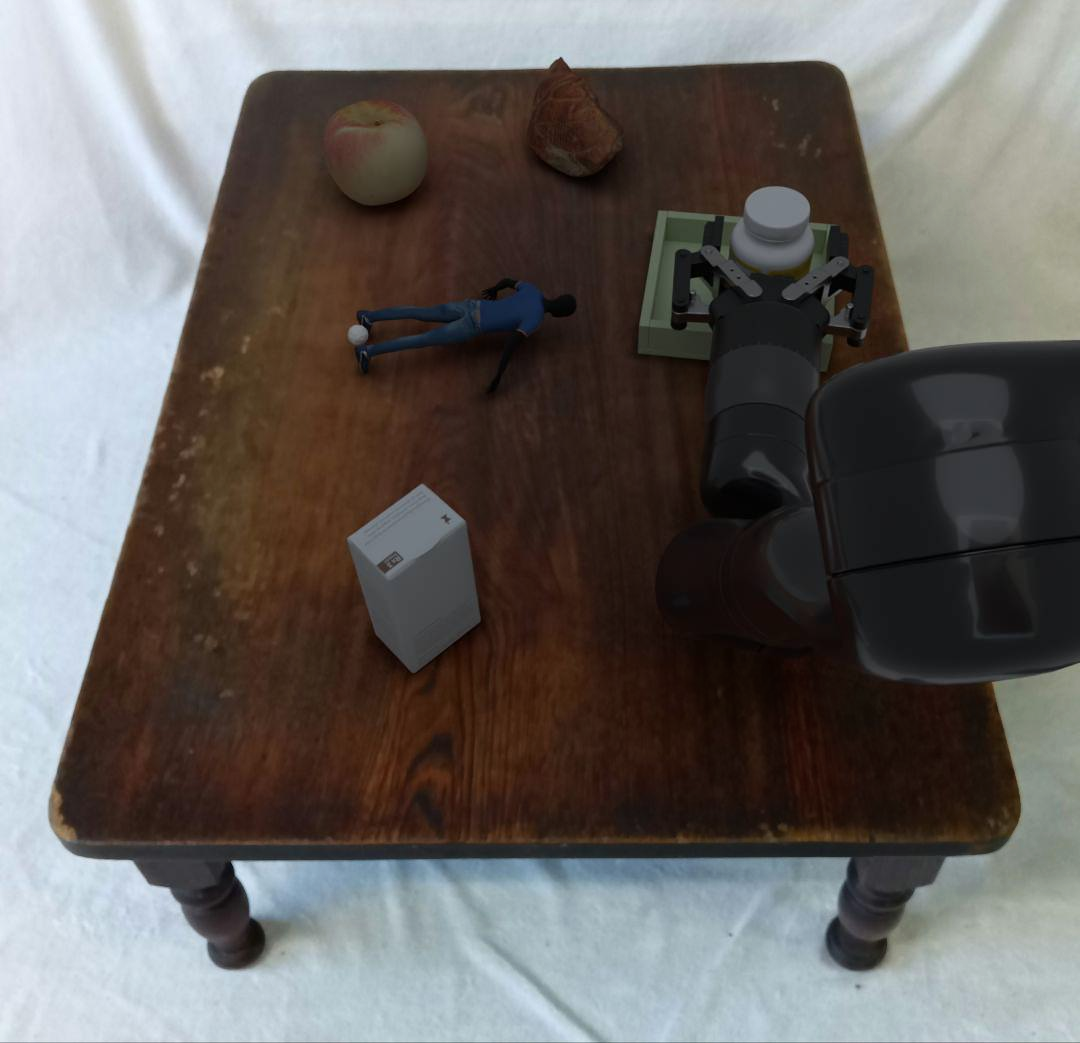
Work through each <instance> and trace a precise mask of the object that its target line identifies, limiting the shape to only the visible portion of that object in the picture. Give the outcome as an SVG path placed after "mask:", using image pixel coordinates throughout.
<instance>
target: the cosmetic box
mask: <svg viewBox="0 0 1080 1043" xmlns="http://www.w3.org/2000/svg"><path fill="white" fill-rule="evenodd" d="M346 541H347V545H348V548H349V552H350V556H351V559H352V562H353V565H354V568H355V571H356V573H357V574H356V575H357V577H358V581H359V584H360V587H361V591H362V594H363V597H364V602H365V605H366V608H367V610H368V613H369V617H370V621H371V624H372V627H373V631H374V634H375V635H376V637H377V638H378V639H379V640H380V641H381V642H382V643H383V644H384V645H385V646H386V647H387V648H388V649H389V650H390V651H391V652H392V653H393V654H394V655H395V656H396V658H397V659H399V661H400V662H401V663H402V664H403V665H404V666H405V668H407V670H408V671H410V673H412V674H415V673H418V671H420V670H421V669H422V668H424V667H425V666H426V665H427V664H429V663H430V662H431V661H432V660H434V659H435V658H436V657H438V656H439V655H440V654H441V653H443V652H444V651H445V650H446V649H447V648H449V647H450V646H452V645H453V644H454V643H455V642H456V641H458V640H459V639H461V638H462V637H463V636H464V635H465V634H467V633H468V632H470V631H471V630H472V629H473V628H474V627H476V626H477V625H479V623H480V622H481V621H482V617H481V612H480V605H479V597H478V591H477V590H478V589H477V586H476V585H477V583H476V577H475V571H474V563H473V559H472V558H473V557H472V552H471V544H470V538H469V532H468V524H467V521H466V520H465V519H464V518H463V517H462V516H461V515H459V514H458V513H457V512H456V511H455V510H454V509H453V508H451V506H449V504H447V503H446V502H445V501H444V500H442V498H440V497H439V496H438V495H437V494H436V493H435V492H434V491H432V490H431V489H430V488H429V487H428V486H427V485H425V484H424V483H421V484H419V485H417V486H416V487H415V488H414V489H413V490H411V491H410V492H409V493H407V494H406V495H404V496H403V497H402V498H400V499H399V500H398V501H396V502H394V503H393V504H392V505H391V506H389V507H388V508H386V509H385V510H383V511H382V512H381V513H380V514H378V515H377V516H376V517H374V518H373V519H371V520H370V521H369V522H367V523H366V524H364V525H363V526H362V527H360V528H359V529H358V530H356V531H355V532H354V533H352V534H351V535H349V536H348V537H347V538H346Z"/></svg>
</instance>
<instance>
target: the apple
mask: <svg viewBox="0 0 1080 1043" xmlns="http://www.w3.org/2000/svg"><path fill="white" fill-rule="evenodd" d="M322 154H323V158H324V161H325V164H326V167H327V170H328V172H329V174H330V176H331V178H332V179H333V181H334V182H335V184H336V185H337V187H338V188H339V189H340V191H342V192H343V193H344V194H345V195H346V196H347V198H350V199H351V200H353V201H354V202H357V203H358V204H361V205H363V206H381V205H387V204H391V203H396V202H397V201H400V200H402V199H405V198H407V197H408V196H409V195H411V194H412V193H414V192H415V191H416V190H417V189H418V188H419V187H420V185H421V184H422V182H423V180H424V178H425V176H426V173H427V170H428V166H429V146H428V142H427V138H426V135H425V133H424V130H423V128H422V127H421V125H420V123H419V121H418V120H417V119H416V117H415V115H413V114H412V113H411V111H409V110H408V109H406V108H405V107H403V105H401V104H397V103H395V102H392V101H388V100H381V99H380V100H379V99H377V100H376V99H374V100H373V99H369V100H363V101H361V100H360V101H358V102H355V103H352V104H349V105H347V106H344V107H342V108H340V109H338V110H337V111H336V112H334V113H333V114H332V115H331V116H330V118H329V119H328V121H327V123H326V125H325V128H324V130H323V135H322Z"/></svg>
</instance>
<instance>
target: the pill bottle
mask: <svg viewBox="0 0 1080 1043" xmlns="http://www.w3.org/2000/svg"><path fill="white" fill-rule="evenodd" d="M810 215H811V205H810V203H809V201H808V199H807V198H806V196H805V195H803V194H802V193H801V192H799V191H798V190H795V189H792V188H790V187H787V186H786V187H785V186H776V185H773V186H765V187H761V188H759V189H756V190H755V191H753V192H752V193H751V194H750V195H748V197H747V198H746V199H745V203H744V208H743V214H742V217H743V218H742V219H741V220H740V221H739V222H738V223H737V224H736V226H735V227H734V229H733V231H732V234H731V239H730V249H729V258H728V260H733V261H734V262H735V263H736V264H737V265H738V267H739V268H740V269H741V270H742V271H743V272H744V273H745V274H746V275H747V276H750V275H751V273H762V274H765V275H769V276H783V275H785V276H795V278H794V279H795V280H798V281H799V280H800V279H801V278H803V277H804V276H805V275H807V274H808V273H809V272H810V266H811V261H812V256H813V250H814V235H813V232H812V230H811V228H810V226H809V225H808V224H809V223H810V217H811V216H810Z"/></svg>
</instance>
